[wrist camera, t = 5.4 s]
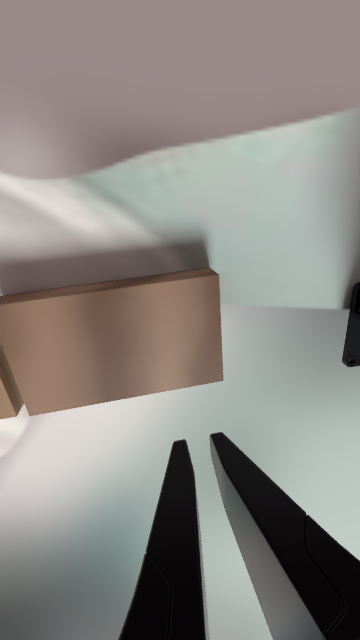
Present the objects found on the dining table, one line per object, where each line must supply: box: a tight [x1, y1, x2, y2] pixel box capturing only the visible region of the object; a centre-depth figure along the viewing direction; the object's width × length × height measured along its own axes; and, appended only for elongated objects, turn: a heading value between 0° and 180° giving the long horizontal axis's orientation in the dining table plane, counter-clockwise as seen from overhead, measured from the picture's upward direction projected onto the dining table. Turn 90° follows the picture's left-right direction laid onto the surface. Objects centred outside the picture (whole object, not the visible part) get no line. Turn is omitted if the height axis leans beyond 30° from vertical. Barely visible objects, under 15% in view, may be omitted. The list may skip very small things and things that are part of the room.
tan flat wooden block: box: [0, 268, 223, 416], centre depth 17 cm, size 12×7×2 cm, turn 95°
